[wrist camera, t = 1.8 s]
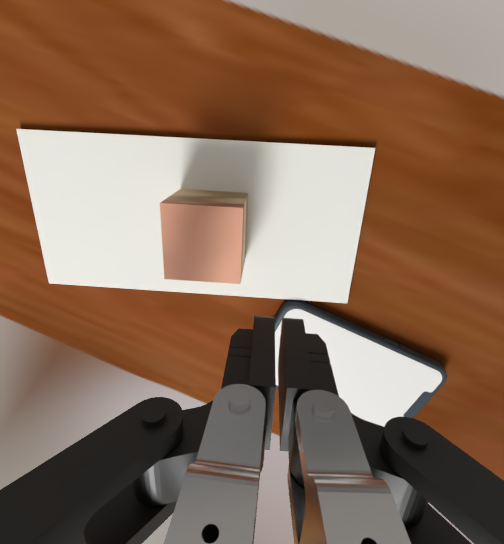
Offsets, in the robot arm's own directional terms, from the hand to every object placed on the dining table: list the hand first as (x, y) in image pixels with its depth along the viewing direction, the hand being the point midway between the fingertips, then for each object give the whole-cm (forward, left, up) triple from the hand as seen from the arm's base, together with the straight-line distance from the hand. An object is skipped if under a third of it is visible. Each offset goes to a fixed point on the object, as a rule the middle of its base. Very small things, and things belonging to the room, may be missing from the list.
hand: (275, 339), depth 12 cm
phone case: (-7, +13, -16) cm, 22 cm away
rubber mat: (+6, 0, -15) cm, 16 cm away
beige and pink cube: (+4, 0, -15) cm, 15 cm away
